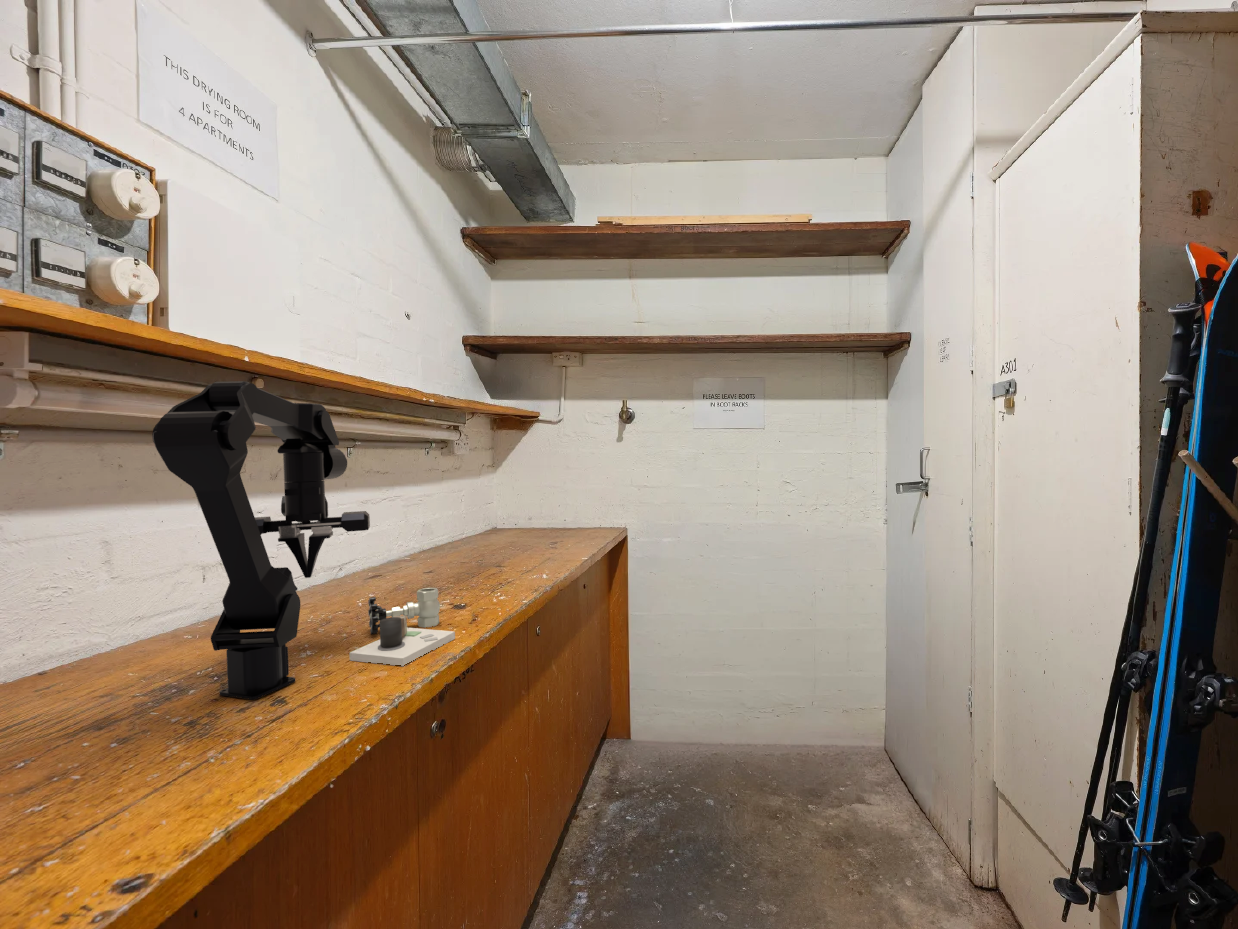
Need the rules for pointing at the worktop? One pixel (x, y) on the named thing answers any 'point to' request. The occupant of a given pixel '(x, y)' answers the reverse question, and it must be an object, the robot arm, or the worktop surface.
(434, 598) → the valve
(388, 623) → the lever
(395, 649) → the dial board
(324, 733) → the worktop surface
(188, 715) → the worktop surface
